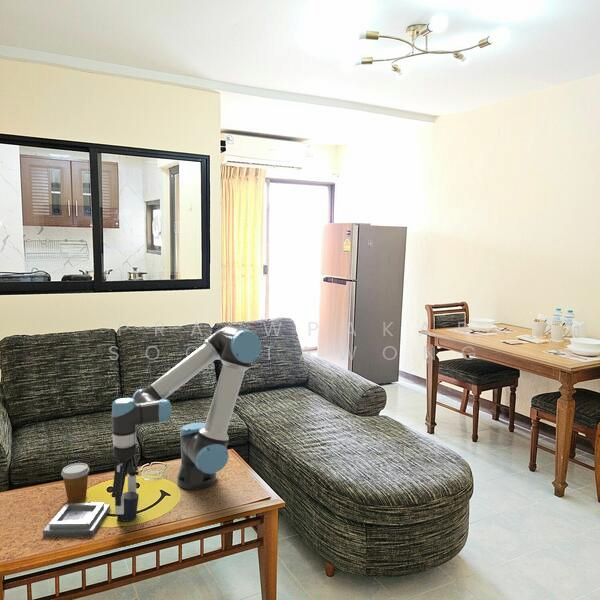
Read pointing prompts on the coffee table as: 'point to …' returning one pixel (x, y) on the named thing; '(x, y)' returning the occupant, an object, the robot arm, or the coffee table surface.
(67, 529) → the white square tray
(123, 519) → the speaker
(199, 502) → the coffee table surface
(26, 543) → the coffee table surface
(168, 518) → the coffee table surface
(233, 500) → the coffee table surface
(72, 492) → the disposable coffee cup
